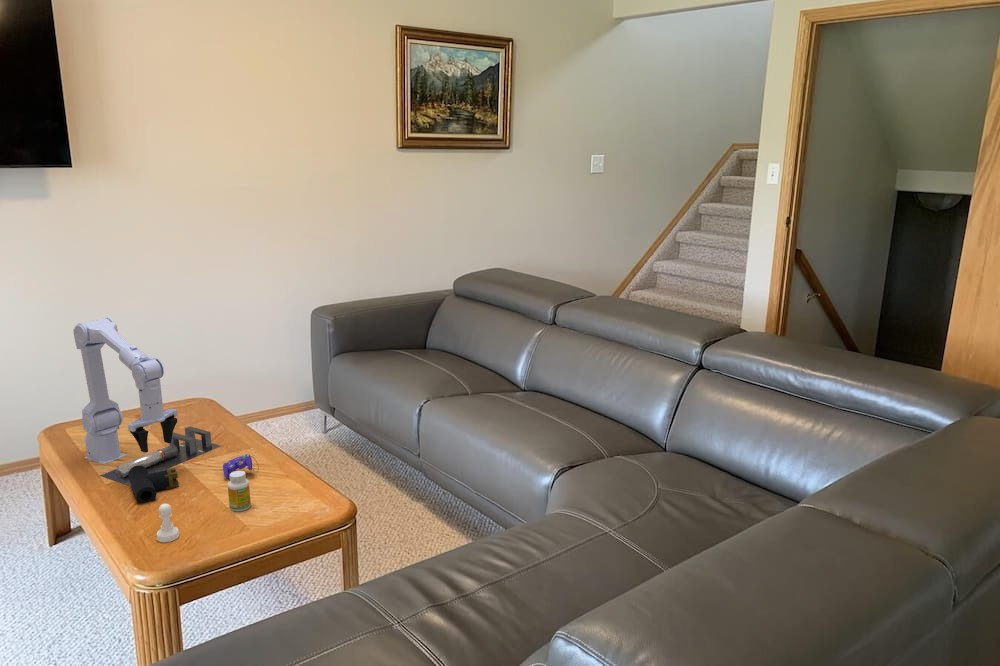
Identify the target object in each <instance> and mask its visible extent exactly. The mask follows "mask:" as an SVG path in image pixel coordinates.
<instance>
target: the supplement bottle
mask: <svg viewBox="0 0 1000 666" xmlns="http://www.w3.org/2000/svg"><path fill="white" fill-rule="evenodd" d="M246 476H247V474H246V472H245V471H244V470H237V471H234V472H231V473H230V475H229V480H230V481H228V483H227V491H228V494H227V495H228V502H229V503H228V505H229V510H231V511H232V512H243V511H246V510H248V509H250V507H251V506H252V502H251V489H250V481H249V480H248V479H247V477H246Z"/></svg>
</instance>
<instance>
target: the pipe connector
mask: <svg viewBox="0 0 1000 666" xmlns="http://www.w3.org/2000/svg"><path fill="white" fill-rule="evenodd" d="M128 477H129V480H130V483H131V485H130V486H131V489H132V491H133V493H134V496H135V499H136V501H137V503H138V504H141V505H142V504H147V503H152V502H154V501H155V500H156V498H157V491H162V490H170V489H173V488H178V487H179V481H178V478H179V476H178V472H177V469H176V467H171V468H169V469H166V470H163V471H160V472H155V473H150V474H148V471H147V469H146V468H145V467H143V466H135V467H133V468H131V469H130V471H129V473H128Z"/></svg>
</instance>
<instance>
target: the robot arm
mask: <svg viewBox="0 0 1000 666" xmlns="http://www.w3.org/2000/svg"><path fill="white" fill-rule="evenodd" d="M73 328H74V329H72V330H73V336H74V337H73V338H74V342H75V347H76V349H77V350H80V353H81V359H82V364H83V369H84V374H85V380H86V381H85V382H86V385H87V391H88V397H89V400H90V401H89V402H88V403H87V404H86V405H85V407H83V408H82V410H81V414H82V418H81V425H82V429H83V430H84V431H85V432H86V434H85V437H84V441H85V448H86V454H87V456H85V457H84V459H87V460H90V461H92V462H95V463H98V464H101V465H106V464H107V463H110V462H112V461H113V462H114V461H115V460H118V459H121V458H123V457H126V456H127V455H128V454H126V453H123V452H121V448H120V442H119V433H118V430H119V429H120V426H121V425H122V423H123V419H124V418H123V413H122V411H121V409H120V406H119V403H118V402H116V401H114V400H112V399H110V396H109V390H108V384H107V380H106V373H105V369H104V361H103V357H102V351H101V349H102V348H103V347H104V346H105V345H107V346H108V347H109V348H111V349H112V350H114V351H115V352H116V353H118V359H119V361H120V362H121V363H122V364H123V365H124V366H126V367H127V368H128V369H129V370H130V371H131V376H132V379H133V380H134V382H135V387H136V389H138V397H139V404H140V414H141V415H140V416H141V417H139V418H137V419H136V420H134V421H133V422H130V423H128V424H127V431H129V433H130V434H131V435H132V436H133V438H134V439H135V441H136V443H137V444H138V446H139V449H140V452H142V453H145V454H146V453H147V452H148V451H149V445H148V444H149V443H148V439H149V438H148V436H149V430H146V429H145V427H147V426H150V425H153V424H155V423H160V427H161V429H162V437H163V438H162V439H163V441H164V443H166V444H169V443H171V439H172V434H173V433H174V431H175V427H176V425H177V423H178V418H177V417H178V409H175V408H169V409H166V410H164V405H163V403H164V402H163V395H162V386H161V378H163V376H164V374H165V373H164V372H165V371H164V366H163V363H162V362H161V361H160V360H159V358H157V357H152V356H151V357H149V356H148V355H146V354H145V353H144V352H143V351H142V350H141V349H140V348H139V347H138V346H137V345H134V344H129V343H128V342H127V341H126V340H125V339H124V338H123V336H122V334H120V333H119V332H118V331H119V330H118V325H117V322H115V321H114V320H113V319H112V318H111V317H105V318H103V319H102V318H101V319H96V320H91V321H87V322H80V323H79V322H78V323H77V324H76V325H75V326H74V327H73Z"/></svg>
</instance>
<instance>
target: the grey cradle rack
mask: <svg viewBox="0 0 1000 666" xmlns="http://www.w3.org/2000/svg"><path fill="white" fill-rule="evenodd" d="M196 435H198V436H199V435H200V438H201V439H198V438H196ZM180 441H181V443H180ZM172 444H173V445H175V446H176V447H177V449H178V454H177V455H176V456H174V457H171V458H169V459H166V460H164V461H162V462H159V463H157V464H154V465H152V466H149V467H147V468H146V469H147V471H148V474H150V473H155V472H160V471H163V470H167V469H172V468H175V466H178V465H181V464H183V463H186V462H188V461H189V460H192V459H194V458H197V457H200V456H203V455H204V454H206V453H208V452H211V451H213V450H216V449H218V448H221V447H222V445H220V444H216V443H212V434H211V431H208V430H204V429H200V428H197V427H194V426H187V427H184V434H181V433H177V432H173V434H172V439H171V443H168V445H169V446H170V445H172ZM99 476H100V477H101V478H104V479H107V480H111V481H113V482H116V483H119V484H122V485H125V486H127V487H128V486H131V483H130V480H129V477H128V476H125V477H123V478H122V477H120V476H119V475H118V473H117V468H115V469H112V470H110V471H108V472H105V473H103V474H101V475H99Z"/></svg>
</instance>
